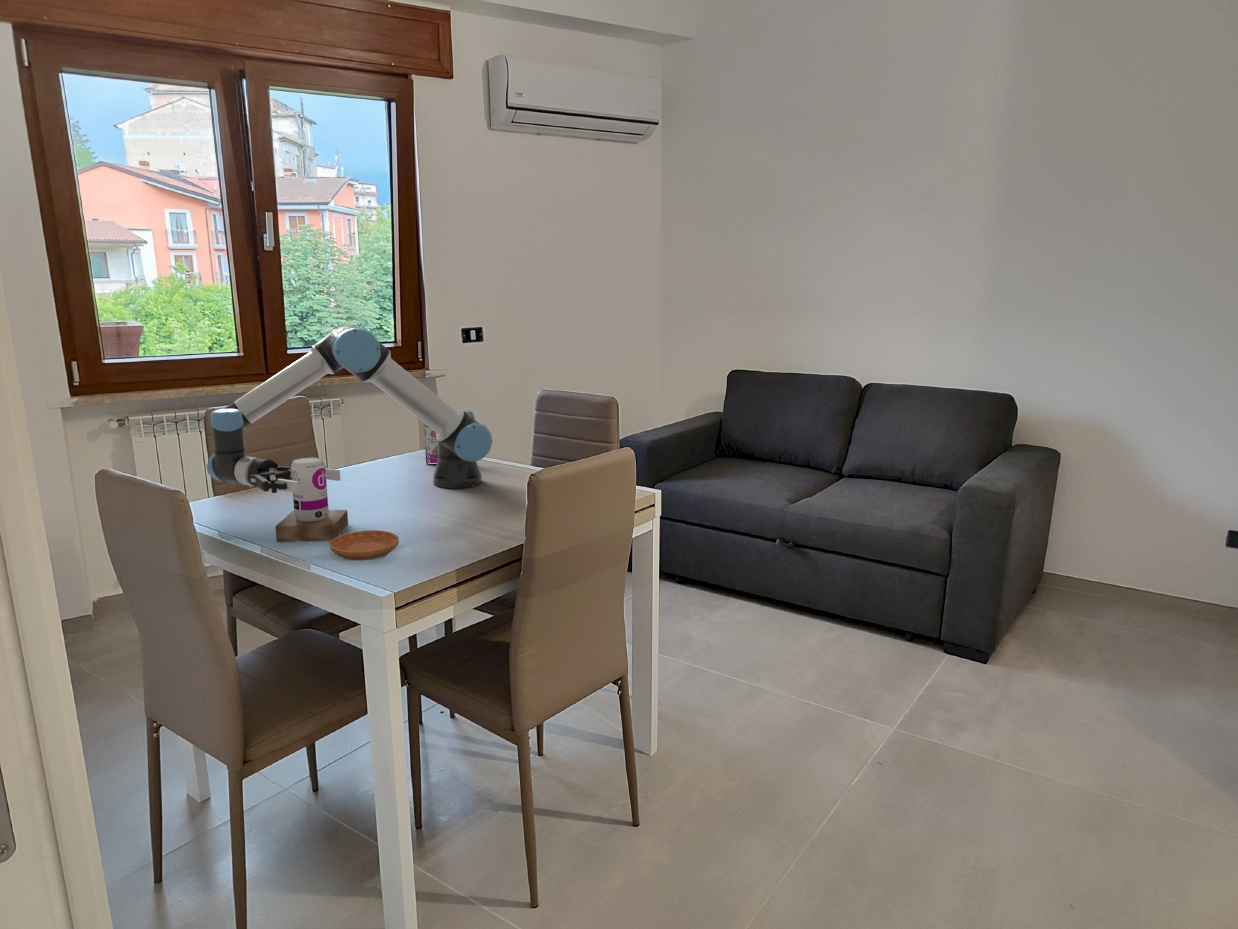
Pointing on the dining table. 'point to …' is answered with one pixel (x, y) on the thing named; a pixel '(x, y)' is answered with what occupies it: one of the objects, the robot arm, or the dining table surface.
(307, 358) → the robot arm
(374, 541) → the saucer
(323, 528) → the podium
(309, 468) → the supplement can
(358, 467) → the dining table surface
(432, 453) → the candy bar box
